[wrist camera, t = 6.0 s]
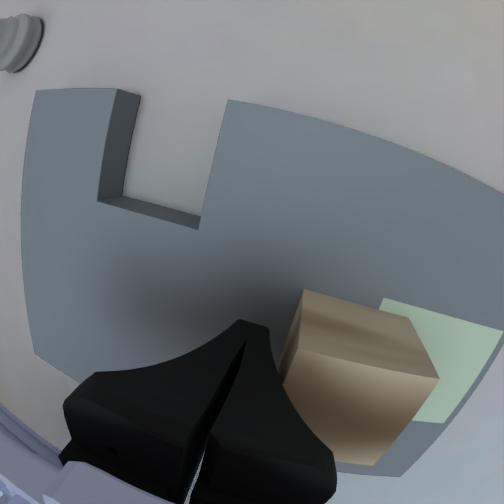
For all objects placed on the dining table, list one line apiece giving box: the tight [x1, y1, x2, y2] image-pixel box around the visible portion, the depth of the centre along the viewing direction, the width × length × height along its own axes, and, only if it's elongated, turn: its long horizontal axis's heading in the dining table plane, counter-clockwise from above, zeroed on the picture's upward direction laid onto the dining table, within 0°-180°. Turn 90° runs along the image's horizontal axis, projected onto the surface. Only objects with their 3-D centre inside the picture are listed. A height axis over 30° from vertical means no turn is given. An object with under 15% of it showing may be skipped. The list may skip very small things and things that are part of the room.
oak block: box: [276, 289, 440, 466], centre depth 10 cm, size 4×4×4 cm
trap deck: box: [21, 88, 504, 477], centre depth 13 cm, size 17×26×2 cm, turn 76°
